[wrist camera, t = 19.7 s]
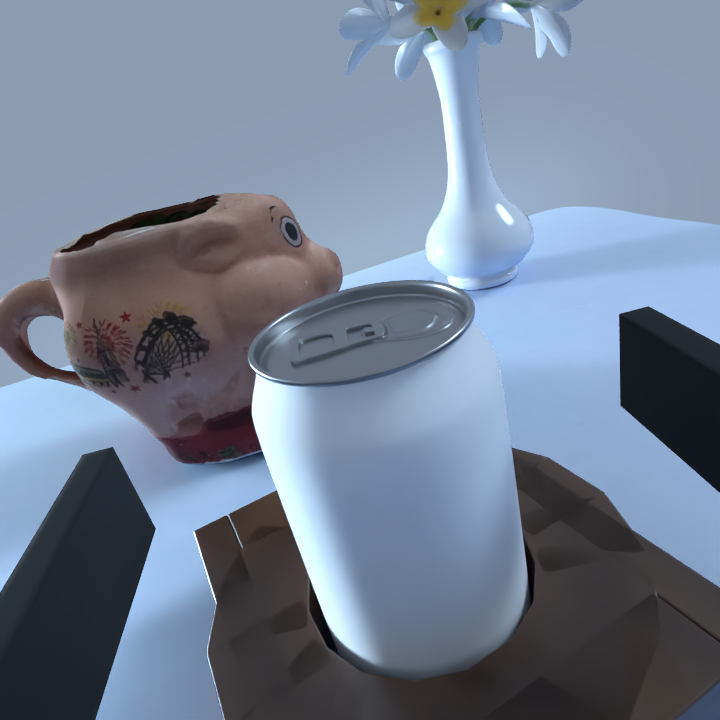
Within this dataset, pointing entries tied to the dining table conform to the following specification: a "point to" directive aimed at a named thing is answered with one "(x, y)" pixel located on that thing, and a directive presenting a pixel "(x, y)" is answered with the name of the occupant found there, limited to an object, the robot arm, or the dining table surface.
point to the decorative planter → (175, 314)
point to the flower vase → (462, 120)
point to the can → (396, 473)
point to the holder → (504, 665)
